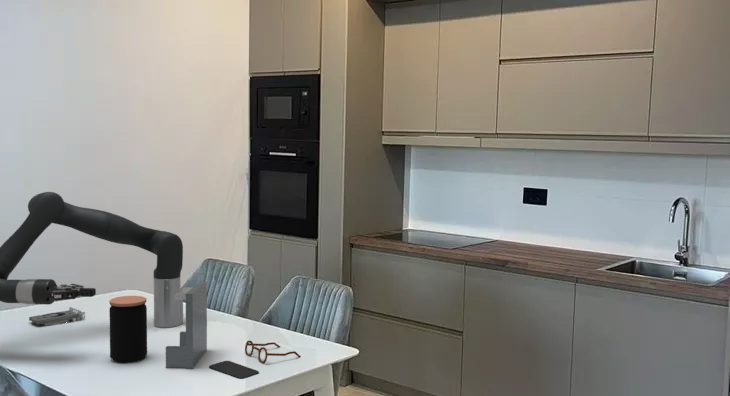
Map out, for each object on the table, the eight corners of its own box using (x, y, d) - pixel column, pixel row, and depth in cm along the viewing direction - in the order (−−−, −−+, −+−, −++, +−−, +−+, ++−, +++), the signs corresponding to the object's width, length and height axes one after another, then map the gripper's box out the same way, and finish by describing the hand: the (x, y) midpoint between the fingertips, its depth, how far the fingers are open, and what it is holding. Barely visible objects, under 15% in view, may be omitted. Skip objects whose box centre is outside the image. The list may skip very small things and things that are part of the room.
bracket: (165, 368, 198) (164, 293, 197) (181, 349, 216) (181, 280, 215) (192, 368, 198) (192, 293, 197) (206, 349, 216) (206, 281, 215)
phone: (240, 378, 190) (207, 366, 200) (240, 381, 190) (207, 368, 200) (260, 371, 196) (227, 359, 205) (260, 374, 196) (227, 362, 205)
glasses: (243, 355, 213) (243, 339, 213) (280, 348, 221) (280, 332, 221) (264, 366, 203) (264, 349, 203) (302, 358, 211) (302, 342, 210)
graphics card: (72, 306, 258) (85, 311, 250) (72, 315, 259) (85, 321, 250) (24, 313, 247) (37, 319, 238) (25, 324, 247) (37, 330, 238)
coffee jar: (154, 355, 210) (154, 297, 208) (129, 365, 200) (128, 305, 199) (128, 350, 214) (127, 294, 213) (102, 360, 205) (101, 301, 203)
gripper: (25, 283, 198) (85, 284, 199) (46, 275, 212) (102, 275, 212) (25, 309, 199) (85, 310, 199) (46, 298, 212) (103, 299, 213)
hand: (94, 292), depth 206 cm, fingers closed
